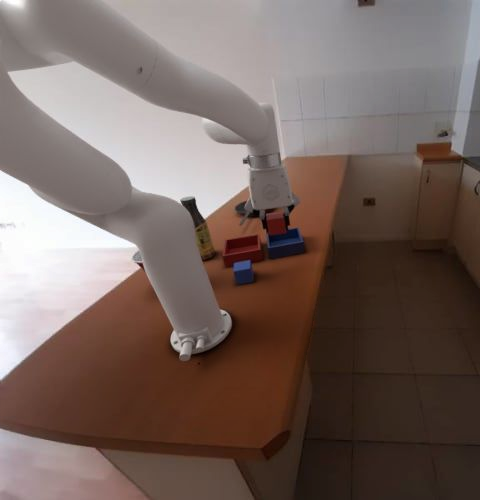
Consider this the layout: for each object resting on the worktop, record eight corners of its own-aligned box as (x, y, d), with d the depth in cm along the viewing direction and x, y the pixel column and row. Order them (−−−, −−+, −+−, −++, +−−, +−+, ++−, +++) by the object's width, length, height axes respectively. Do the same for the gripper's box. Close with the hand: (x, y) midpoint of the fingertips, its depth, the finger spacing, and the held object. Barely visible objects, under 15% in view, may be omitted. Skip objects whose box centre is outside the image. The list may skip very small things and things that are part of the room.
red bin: (262, 260, 87) (260, 249, 85) (225, 267, 85) (222, 256, 83) (261, 244, 96) (259, 233, 94) (228, 249, 94) (225, 239, 92)
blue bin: (305, 252, 90) (303, 241, 88) (270, 259, 87) (267, 248, 85) (299, 237, 99) (298, 227, 97) (268, 242, 97) (266, 232, 95)
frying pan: (278, 202, 132) (277, 194, 130) (266, 232, 104) (264, 223, 102) (241, 204, 132) (239, 197, 130) (219, 235, 104) (216, 226, 103)
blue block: (253, 281, 78) (250, 268, 75) (237, 284, 77) (233, 271, 74) (253, 272, 81) (250, 259, 79) (237, 275, 80) (234, 262, 78)
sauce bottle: (209, 261, 88) (188, 202, 78) (191, 260, 90) (169, 202, 80) (220, 251, 94) (202, 195, 84) (203, 250, 95) (184, 194, 85)
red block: (286, 233, 74) (284, 217, 72) (269, 235, 74) (266, 220, 71) (285, 226, 78) (282, 211, 76) (268, 228, 77) (266, 213, 75)
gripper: (227, 168, 62) (244, 240, 71) (302, 160, 65) (310, 230, 74) (230, 161, 68) (246, 228, 77) (298, 154, 71) (305, 220, 80)
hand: (277, 228), depth 76 cm, fingers closed on red block, 4 cm apart
